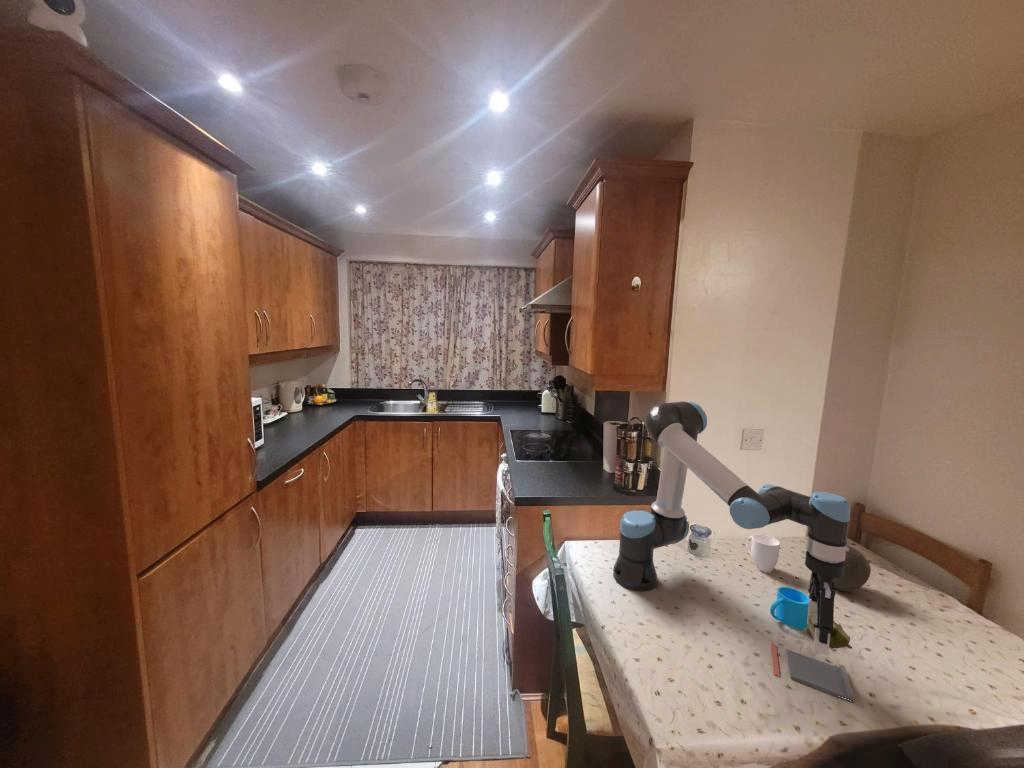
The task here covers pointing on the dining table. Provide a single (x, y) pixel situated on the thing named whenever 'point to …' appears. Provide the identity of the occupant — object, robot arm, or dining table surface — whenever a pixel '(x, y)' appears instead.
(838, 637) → the fruit
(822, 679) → the mat
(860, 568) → the dark grey round stone
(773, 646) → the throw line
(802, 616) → the mug
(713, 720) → the dining table surface
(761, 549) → the mug
